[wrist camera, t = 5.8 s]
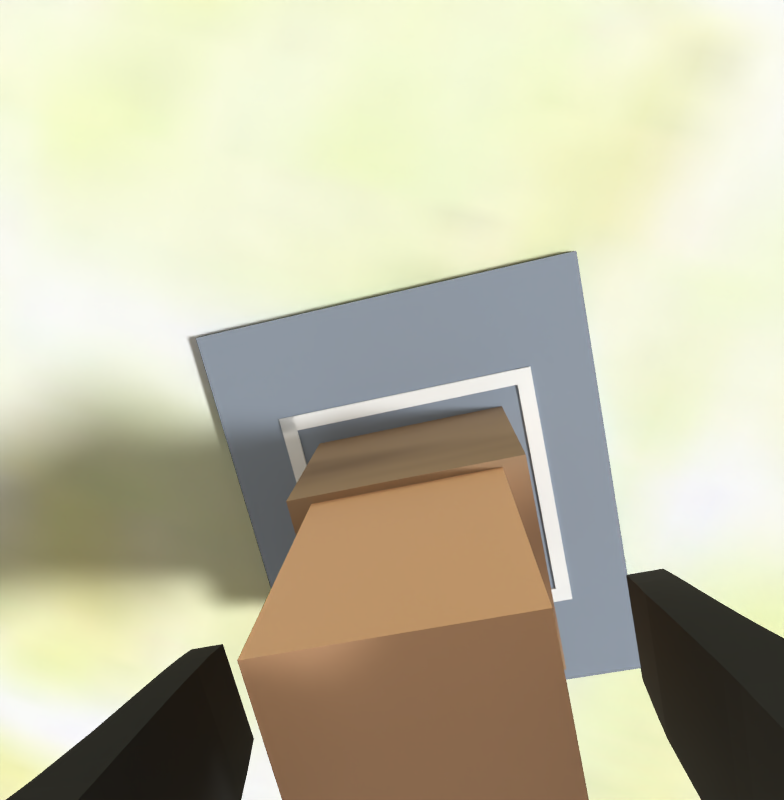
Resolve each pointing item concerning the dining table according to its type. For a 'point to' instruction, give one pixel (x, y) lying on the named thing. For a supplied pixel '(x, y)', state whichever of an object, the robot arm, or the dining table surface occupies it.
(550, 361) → the mat
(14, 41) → the dining table surface
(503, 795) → the terracotta block
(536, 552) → the walnut block
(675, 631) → the robot arm
